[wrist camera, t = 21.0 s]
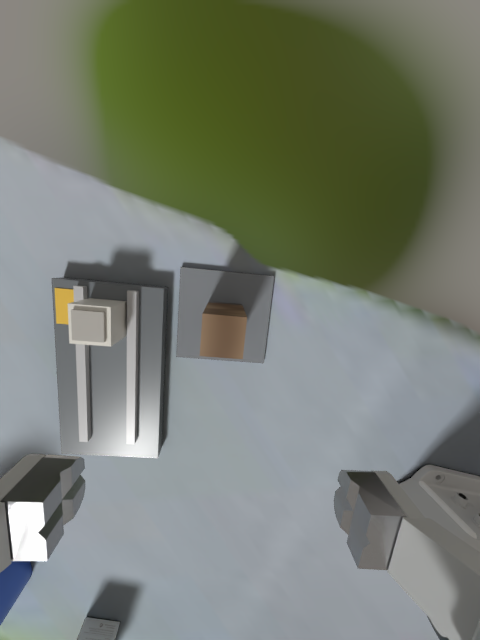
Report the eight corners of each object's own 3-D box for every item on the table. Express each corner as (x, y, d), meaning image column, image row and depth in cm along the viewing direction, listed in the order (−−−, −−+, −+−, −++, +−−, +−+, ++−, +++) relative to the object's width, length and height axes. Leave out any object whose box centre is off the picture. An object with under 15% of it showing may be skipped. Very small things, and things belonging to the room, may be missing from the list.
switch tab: (126, 301, 28) (108, 307, 24) (126, 335, 29) (109, 347, 25) (89, 298, 28) (65, 304, 24) (90, 332, 29) (66, 344, 25)
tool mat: (273, 275, 31) (274, 276, 30) (262, 361, 33) (263, 363, 32) (181, 267, 30) (180, 267, 29) (177, 355, 32) (176, 356, 32)
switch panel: (167, 287, 30) (161, 289, 28) (161, 447, 35) (156, 462, 32) (63, 277, 30) (46, 278, 27) (70, 442, 34) (57, 458, 31)
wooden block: (242, 304, 31) (247, 317, 23) (238, 335, 32) (242, 359, 24) (208, 301, 30) (202, 313, 23) (206, 333, 31) (199, 356, 23)
